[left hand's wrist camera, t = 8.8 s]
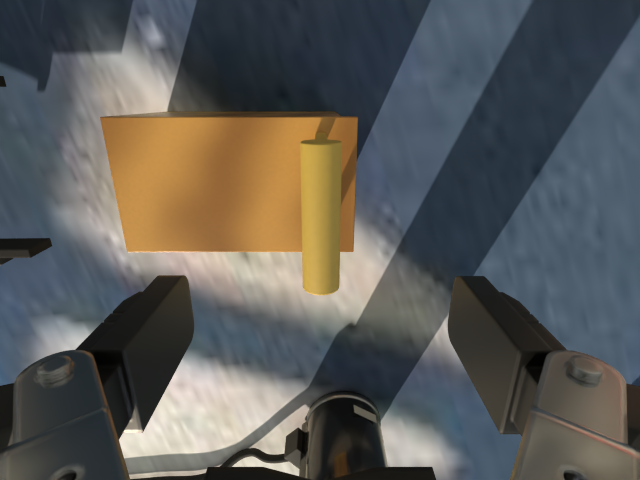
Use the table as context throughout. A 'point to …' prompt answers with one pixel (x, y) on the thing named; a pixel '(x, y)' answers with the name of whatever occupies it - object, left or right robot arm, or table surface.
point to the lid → (238, 186)
